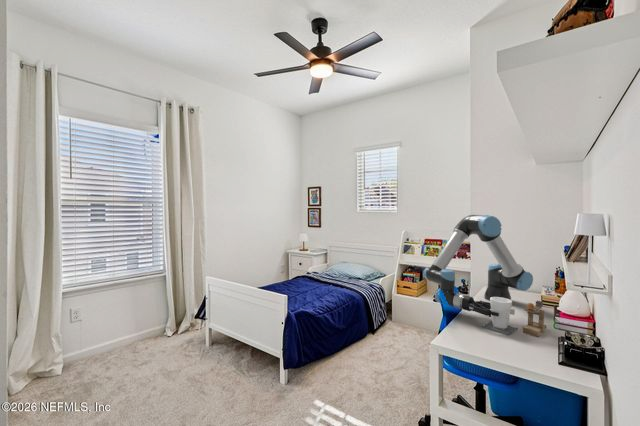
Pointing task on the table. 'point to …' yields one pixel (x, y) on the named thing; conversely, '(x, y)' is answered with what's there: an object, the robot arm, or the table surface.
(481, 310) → the robot arm
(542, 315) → the catapult
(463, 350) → the table surface
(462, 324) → the table surface
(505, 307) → the foam cup
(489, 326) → the mat
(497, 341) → the table surface
